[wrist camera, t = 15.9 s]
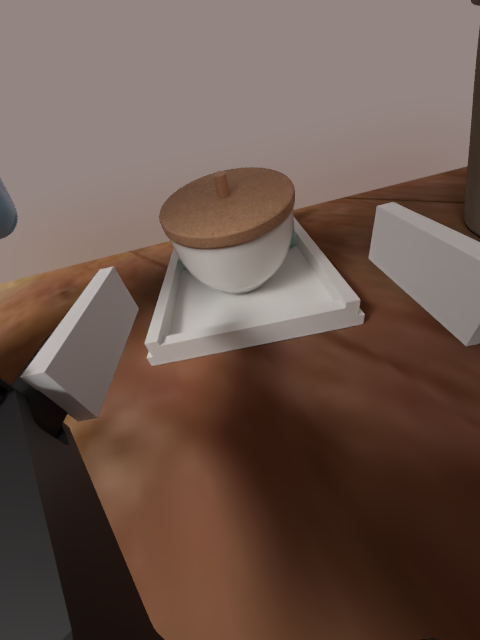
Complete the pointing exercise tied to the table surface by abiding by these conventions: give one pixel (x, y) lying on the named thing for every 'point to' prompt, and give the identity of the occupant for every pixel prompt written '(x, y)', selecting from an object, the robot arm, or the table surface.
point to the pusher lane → (251, 307)
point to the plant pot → (474, 155)
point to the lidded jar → (232, 226)
